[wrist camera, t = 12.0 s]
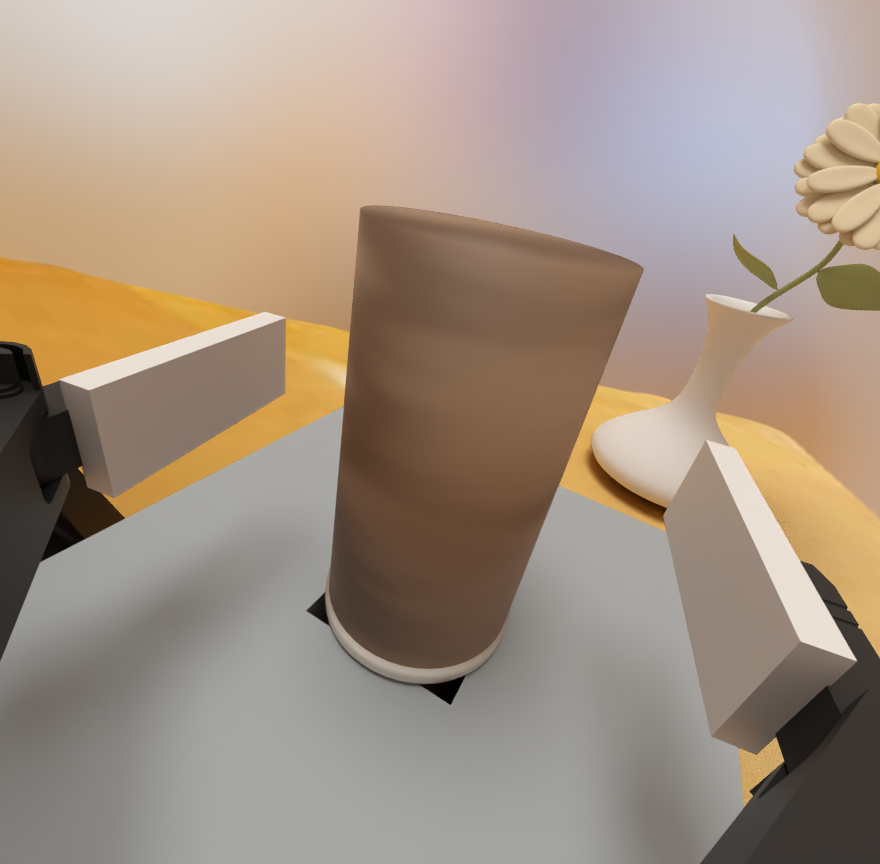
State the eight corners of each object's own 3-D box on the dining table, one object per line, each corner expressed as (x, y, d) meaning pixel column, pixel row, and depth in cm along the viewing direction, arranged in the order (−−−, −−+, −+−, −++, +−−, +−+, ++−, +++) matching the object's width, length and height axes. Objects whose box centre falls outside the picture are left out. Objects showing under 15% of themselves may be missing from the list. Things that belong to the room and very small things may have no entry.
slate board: (-107, 751, 13) (-176, 673, 11) (352, 450, 31) (357, 398, 29) (656, 1730, 6) (840, 1991, 4) (686, 610, 24) (723, 556, 22)
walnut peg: (308, 604, 19) (329, 193, 11) (446, 577, 22) (541, 229, 14) (338, 773, 14) (413, 247, 6) (512, 711, 17) (717, 287, 9)
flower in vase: (554, 458, 35) (706, 52, 23) (629, 430, 42) (776, 108, 30) (722, 573, 27) (1101, 40, 15) (780, 515, 34) (1070, 120, 21)
